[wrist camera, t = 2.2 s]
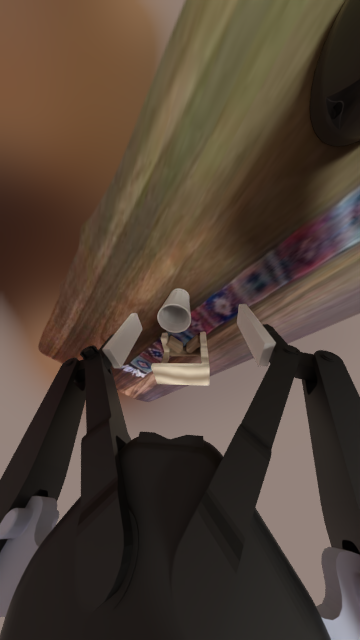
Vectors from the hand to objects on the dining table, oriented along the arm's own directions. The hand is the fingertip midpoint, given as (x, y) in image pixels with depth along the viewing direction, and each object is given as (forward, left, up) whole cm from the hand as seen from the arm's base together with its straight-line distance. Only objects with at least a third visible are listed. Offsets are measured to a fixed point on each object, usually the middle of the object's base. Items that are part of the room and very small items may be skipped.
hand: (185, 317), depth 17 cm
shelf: (+25, -4, -22) cm, 34 cm away
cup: (+7, -4, -23) cm, 24 cm away
